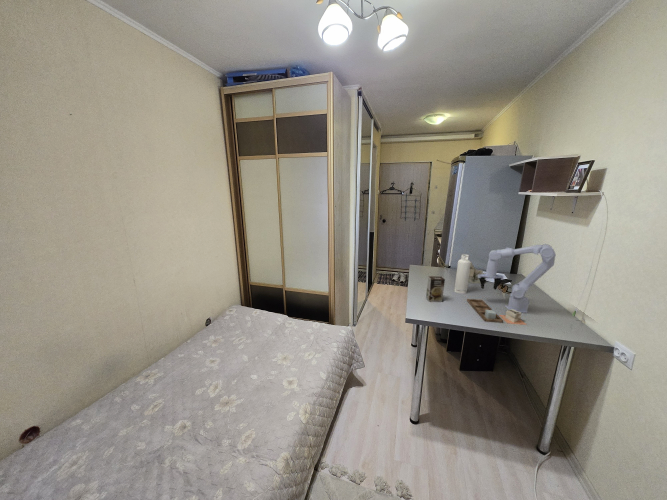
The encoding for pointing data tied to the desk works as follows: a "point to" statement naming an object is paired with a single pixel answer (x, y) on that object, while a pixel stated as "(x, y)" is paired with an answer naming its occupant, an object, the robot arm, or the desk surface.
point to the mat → (511, 321)
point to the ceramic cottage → (474, 275)
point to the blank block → (490, 314)
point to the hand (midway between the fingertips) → (488, 288)
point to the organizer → (483, 310)
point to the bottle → (462, 274)
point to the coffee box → (435, 289)
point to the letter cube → (513, 315)
